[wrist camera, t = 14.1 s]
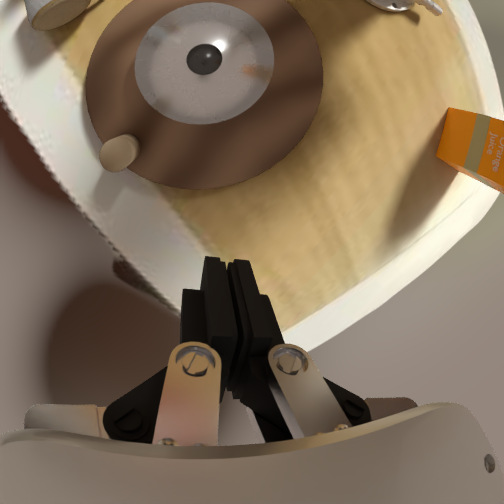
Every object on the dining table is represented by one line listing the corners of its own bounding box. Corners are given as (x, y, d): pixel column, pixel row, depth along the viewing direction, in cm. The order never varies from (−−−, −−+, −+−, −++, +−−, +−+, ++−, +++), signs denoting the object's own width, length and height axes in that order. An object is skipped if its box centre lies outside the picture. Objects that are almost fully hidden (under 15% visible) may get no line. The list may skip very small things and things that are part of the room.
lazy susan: (355, 95, 26) (383, 96, 21) (198, 227, 31) (199, 251, 26) (219, -49, 14) (224, -73, 10) (52, 92, 19) (26, 93, 15)
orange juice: (471, 127, 31) (565, 165, 14) (459, 172, 35) (550, 224, 18) (448, 106, 29) (557, 140, 12) (434, 156, 32) (541, 209, 16)
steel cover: (290, 74, 23) (301, 71, 20) (196, 147, 25) (195, 152, 22) (214, -7, 17) (216, -19, 14) (117, 67, 19) (107, 63, 16)
